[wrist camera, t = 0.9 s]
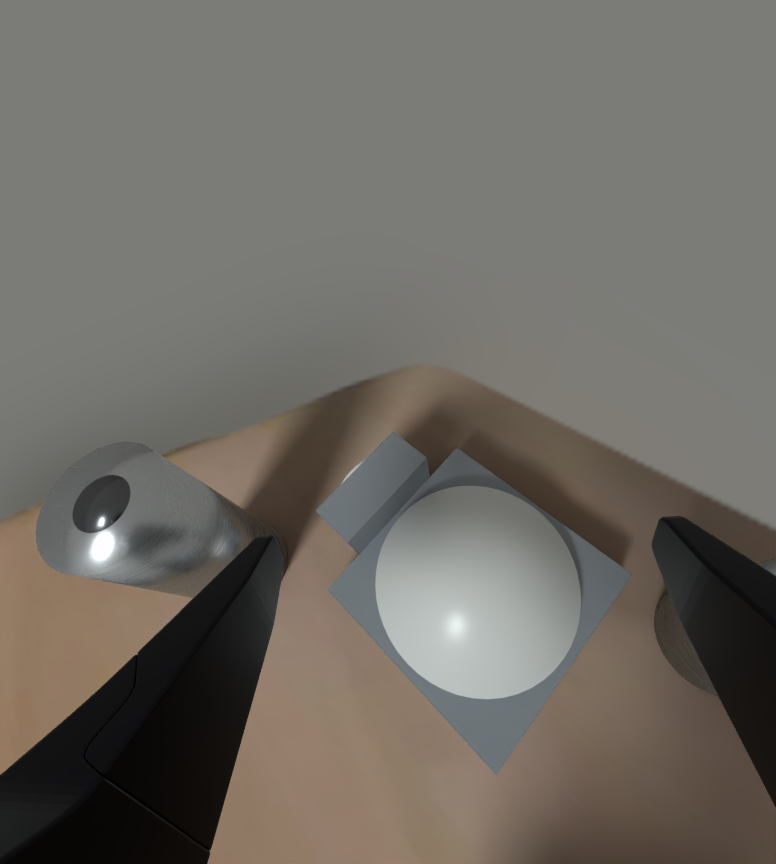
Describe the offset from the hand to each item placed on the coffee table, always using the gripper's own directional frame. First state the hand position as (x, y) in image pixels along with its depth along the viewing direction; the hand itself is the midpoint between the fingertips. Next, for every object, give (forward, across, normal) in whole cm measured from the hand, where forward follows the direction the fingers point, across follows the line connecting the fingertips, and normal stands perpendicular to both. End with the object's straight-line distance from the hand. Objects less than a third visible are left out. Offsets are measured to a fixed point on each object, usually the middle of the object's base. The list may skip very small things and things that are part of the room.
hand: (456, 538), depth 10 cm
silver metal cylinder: (+9, +13, +12) cm, 20 cm away
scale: (+9, 0, +12) cm, 15 cm away
